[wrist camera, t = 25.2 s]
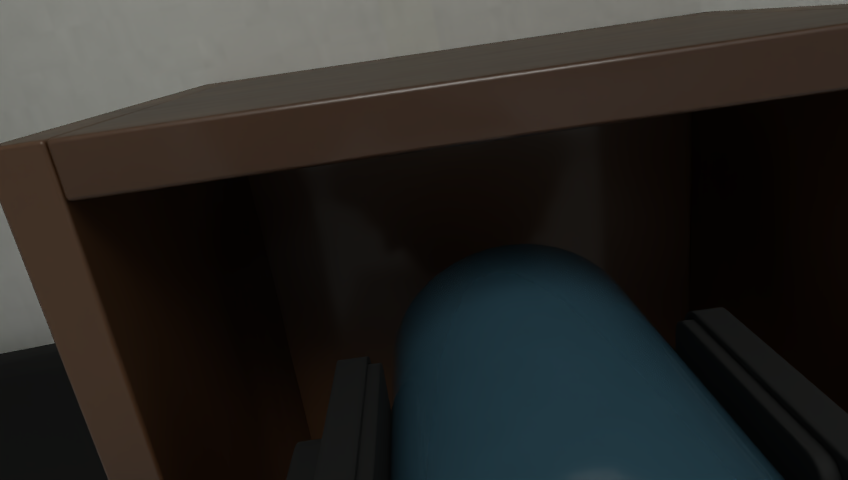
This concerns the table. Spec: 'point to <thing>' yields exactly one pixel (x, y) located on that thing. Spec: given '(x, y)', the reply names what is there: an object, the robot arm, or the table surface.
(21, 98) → the table surface
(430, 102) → the wooden box
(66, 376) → the cell phone
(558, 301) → the blue glossy cylinder
